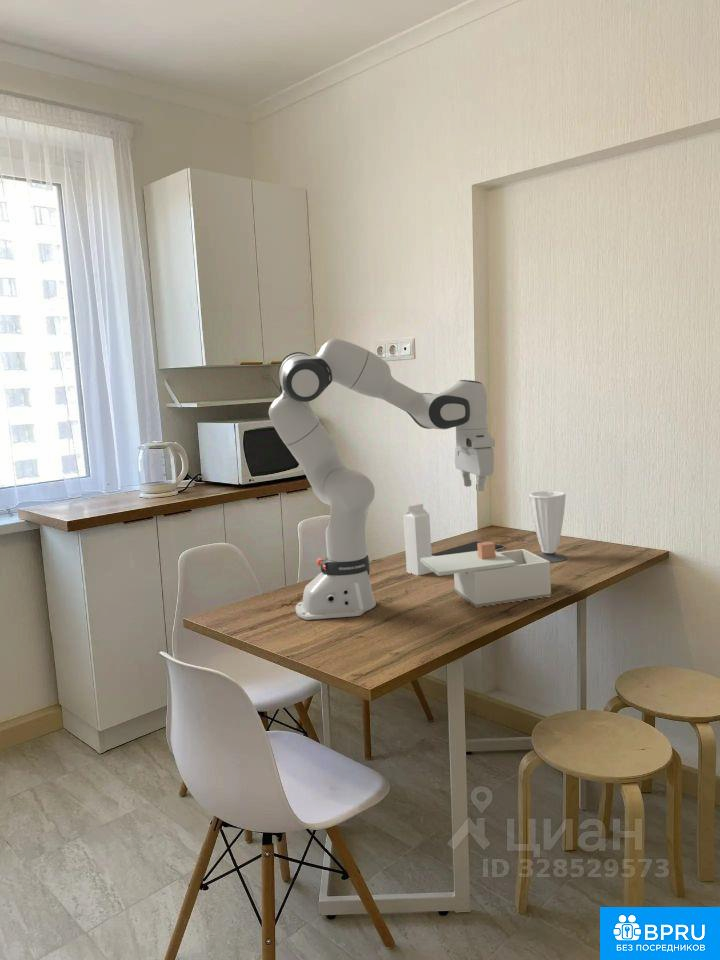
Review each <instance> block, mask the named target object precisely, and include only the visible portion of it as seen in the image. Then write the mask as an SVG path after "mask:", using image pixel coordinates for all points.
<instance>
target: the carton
mask: <svg viewBox="0 0 720 960" xmlns="http://www.w3.org/2000/svg"><path fill="white" fill-rule="evenodd" d="M497 552H498V553H500V554H502V555H504V556H506V557H508V558H510V559H511V560H513V561H515V562H516V566H509V567H501V568H494V569H486V570H479V571H471V572H464V573H457V574H453V578H454V580H453V581H454V592H455V593H456V594H457V593H458V594H457V595H459V596H460V597H461V596H462V597H461V598H462V599H464V600H465V599H466V600H467V602H468V601H469V602H470V603H471V604H470V603H469V602H468V603H469V604H470V605H472V604H473V605H474V606H475V607H479V608H482V607H481V606H486V607H488V606H487V605H492V604H499V603H505V602H512V601H519V600H526V599H532V598H540V597H546V596H551V597H552V590H551V589H552V586H551V582H552V581H551V579H552V578H551V563H550V561H548V560H546V559H543V558H541V557H539V556H537V554H535V553H533V552H531V551H529V550H527V549H524V548H521V549H513V550H511V549H510V550H505V551H497ZM466 600H465V601H466ZM473 605H472V606H473ZM474 606H473V607H474ZM475 607H474V608H475Z"/></svg>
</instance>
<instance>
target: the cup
mask: <svg viewBox="0 0 720 960" xmlns="http://www.w3.org/2000/svg"><path fill="white" fill-rule="evenodd" d="M566 496H567V495H566V493H565V492H564V491H560V490H559V491H558V490H539V491H533V492H531V493H529V502H530V508H531V514H532V519H533V524H534V530H535V533H536V537H537V540H538V543H539V547H540V549H541V553H537V554H536V555H537V556H539V557H541V558H543V559H546V560H548V561H550V564H552V563H554V562H556V563H559V562H560V561H562V562H565V561H567V560H568V556H566V555H565V554H562V553H557V550H558V548H559V544H560V540H561V534H562V529H563V524H564V523H563V522H564V517H565V508H566ZM564 560H565V561H564ZM551 562H552V563H551ZM554 564H555V563H554Z"/></svg>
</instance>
